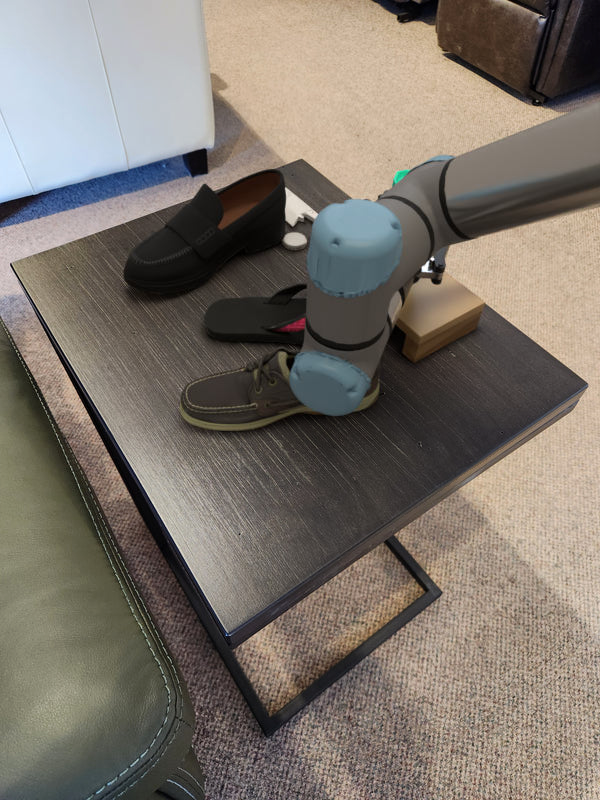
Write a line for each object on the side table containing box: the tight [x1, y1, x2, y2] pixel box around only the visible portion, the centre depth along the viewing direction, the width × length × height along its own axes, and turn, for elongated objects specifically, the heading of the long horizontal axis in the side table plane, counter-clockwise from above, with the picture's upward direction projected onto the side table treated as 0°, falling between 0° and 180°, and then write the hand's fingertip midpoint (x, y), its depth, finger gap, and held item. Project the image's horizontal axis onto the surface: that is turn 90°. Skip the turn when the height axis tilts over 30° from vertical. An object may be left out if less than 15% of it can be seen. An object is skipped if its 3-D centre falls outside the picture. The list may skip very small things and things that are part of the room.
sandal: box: [204, 282, 307, 346], centre depth 81 cm, size 10×25×6 cm, turn 93°
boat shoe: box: [179, 346, 382, 432], centre depth 72 cm, size 9×25×8 cm, turn 103°
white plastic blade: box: [285, 186, 319, 228], centre depth 100 cm, size 5×15×1 cm, turn 35°
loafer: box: [122, 168, 287, 294], centre depth 88 cm, size 10×28×12 cm, turn 126°
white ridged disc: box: [281, 231, 308, 251], centre depth 95 cm, size 4×4×1 cm
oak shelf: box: [395, 261, 486, 364], centre depth 86 cm, size 22×12×5 cm, turn 35°
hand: (422, 188), depth 79 cm, fingers closed on candle, 5 cm apart
